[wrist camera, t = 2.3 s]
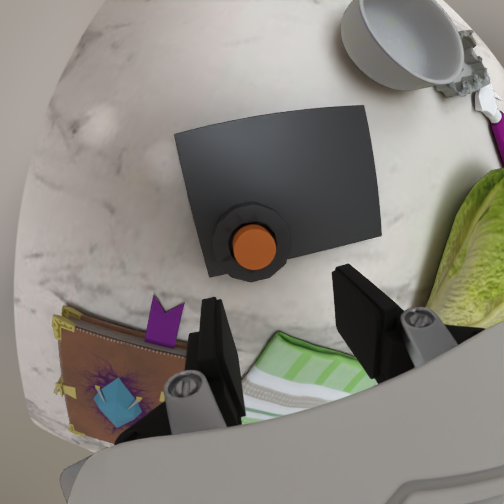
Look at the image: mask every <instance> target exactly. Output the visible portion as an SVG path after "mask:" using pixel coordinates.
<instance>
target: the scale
mask: <svg viewBox="0 0 504 504" xmlns="http://www.w3.org/2000/svg"><path fill="white" fill-rule="evenodd" d="M174 136H175V141H176V146H177V150H178V155H179V159H180V164H181V168H182V173H183V177H184V181H185V185H186V189H187V194H188V198H189V202H190V206H191V210H192V214H193V218H194V222H195V226H196V229H197V233H198V237H199V241H200V245H201V248H202V252H203V256H204V259H205V263H206V267H207V270H208V274H209V277H214V276H219V275H223V274H228V275H229V276H230V277H232V278H236V279H240V280H243V281H247V282H254V281H258V280H263V279H267V278H270V277H271V276H272V275H274V274H275V273H276V272H277V271H278V270H279V269H281V268H282V267H283V266H284V265H285V264H286V261H287V259H291V258H295V257H299V256H303V255H307V254H311V253H315V252H319V251H323V250H328V249H332V248H336V247H340V246H344V245H348V244H352V243H356V242H359V241H363V240H367V239H371V238H375V237H379V236H382V232H381V217H380V206H379V196H378V186H377V178H376V170H375V163H374V157H373V150H372V144H371V138H370V133H369V127H368V122H367V117H366V113H365V108H364V105H357V106H338V107H325V108H314V109H304V110H295V111H287V112H280V113H273V114H266V115H260V116H254V117H248V118H243V119H238V120H232V121H227V122H223V123H218V124H213V125H209V126H205V127H200V128H196V129H192V130H188V131H184V132H181V133H177V134H174ZM250 224H256V225H260V226H262V227H264V228H265V229H266V230H267V231H268V232H269V233H270V235H271V236H272V237H273V239H274V241H275V244H276V254H275V257H274V259H273V260H272V262H271V263H270V264H269V265H267V266H266V267H264V268H262V269H258V270H250V269H246V268H244V267H243V266H241V265H240V264H239V263H238V262H237V260H236V258H235V256H234V251H233V238H234V236H235V234H236V233H237V231H238V230H239V229H241V228H242V227H244V226H246V225H250Z"/></svg>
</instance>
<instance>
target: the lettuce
mask: <svg viewBox="0 0 504 504" xmlns="http://www.w3.org/2000/svg"><path fill="white" fill-rule="evenodd" d="M425 308H429V309H431V310H433V311H434V312H435V313H436V314H437V315H438V316H439V318H440V319H441V321H442V322H443V323H444V324H447V325H457V326H468V327H480V328H485V329H487V328H489V327H491V326H493V325H495V324H497V323H499V322H502V321H504V168H500V169H496V170H491V171H490V172H489V173H488V174H487V175H485V176H484V177H483V178H482V179H481V180H479V181H478V182H477V183H476V184H475V185H474V186H473V187H472V189H471V191H470V192H469V194H468V195H467V197H466V198H465V200H464V202H463V203H462V205H461V207H460V209H459V211H458V212H457V214H456V217H455V220H454V223H453V226H452V229H451V232H450V235H449V238H448V240H447V243H446V247H445V250H444V253H443V256H442V259H441V262H440V265H439V269H438V272H437V276H436V279H435V283H434V286H433V289H432V292H431V295H430V297H429V300H428V303H427V305H426V307H425Z"/></svg>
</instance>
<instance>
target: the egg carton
mask: <svg viewBox="0 0 504 504" xmlns="http://www.w3.org/2000/svg"><path fill="white" fill-rule="evenodd" d="M458 33H459V36H460V38H461V41H462V45H463V49H464V65H463V69H462V71H461V73H460V75H459V76H458V78H457V79H456V80H454V81H453V82H451V83H449V84H445V85H435V87H436V89H437V91H441V92H442V93H443V94H444V95H445V97H452V96H457V95H460V96H462V97H463V96H466V95H467V94H470V93H472V92H475V91H477V90H479V89H481V88H483V87H485V86H487V85H489V84H490V77H489V76H488V74H487V68H485V67H484V66H483V64H482V58H481V57H480V56H476V54H475V52H474V50H473V48H474V47H475V46H476V42H475V40H474V38H473V37H472V33H473V31H472V30H466V31H459V32H458Z"/></svg>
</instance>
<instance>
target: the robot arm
mask: <svg viewBox="0 0 504 504" xmlns="http://www.w3.org/2000/svg"><path fill="white" fill-rule="evenodd" d="M332 281H333V292H334V305H335V319H336V327H337V330H338V332H339V333H340V335H341V336H342V338H343V339H344V341H345V342H346V344H347V345H348V347H349V348H350V349H351V351H352V352H353V354H354V355H355V357H356V358H357V360H358V361H359V363H360V364H361V366H362V367H363V369H364V370H365V372H366V373H367V375H368V376H369V378H370V379H375V380H376V382H377V383H378V384H377V385H375V386H373V387H370V388H368V389H365V390H362V391H360V392H357V393H354V394H352V395H349V396H346V397H343V398H340V399H337V400H334V401H331V402H328V403H325V404H322V405H319V406H316V407H312V408H309V409H305V410H302V411H298V412H295V413H291V414H287V415H283V416H279V417H275V418H271V419H267V420H262V421H258V422H253V423H248V424H243V425H242V420H241V417H244V416H246V411H245V404H244V397H243V389H242V382H241V375H240V367H239V359H238V354H237V350H236V347H235V343H234V340H233V337H232V333H231V330H230V327H229V323H228V320H227V317H226V313H225V310H224V306H223V303H222V300H221V299H219V300H217V299H216V297H212V298H207V299H203V300H202V306H201V317H200V330H199V332H194V333H190V334H189V337H188V345H187V353H186V361H185V370H184V371H181V372H179V373H177V374H175V375H173V376H172V377H170V378H169V379H168V380H167V382H166V383H165V385H164V397H165V401H164V402H162V403H161V404H160V405H158V406H157V407H156V408H154V409H153V410H152V411H151V412H149V413H148V414H147V415H145V416H144V417H143V418H141V419H140V420H139V421H137V422H136V423H134V424H133V425H132V426H130V427H129V428H128V429H126V430H125V431H123V432H122V433H121V434H120V435H119V436H118V437H117V439H116V441H115V444H114V446H111V447H106V448H104V449H102V450H100V451H98V452H97V453H95V454H93V455H91V456H89V457H87V458H85V459H83V460H81V461H79V462H77V463H75V464H73V465H70V466H68V467H67V468H65V469H64V471H63V472H62V473H61V475H60V485H61V488H62V491H63V494H64V497H65V499H66V502H67V504H504V321H502V322H499V323H497V324H495V325H493V326H491V327H489V328H487V329H485V328H480V327H468V326H457V325H447V324H444V323H443V322H442V321H441V319H440V318H439V316H438V315H437V314H436V313H435V312H434V311H433V310H431V309H429V308H425V307H413V308H410V309H407V310H406V311H404V310H402V309H401V308H400V307H399V306H398V305H397V304H396V303H395V302H394V301H393V300H391V299H390V298H389V297H388V296H387V295H386V294H385V293H383V292H382V291H381V290H380V289H379V288H377V287H376V286H375V285H374V284H373V283H372V282H370V281H369V280H368V279H367V278H366V277H364V276H363V275H362V274H361V273H360V272H358V271H357V270H356V269H355V268H353V267H352V266H351V265H350V264H345V265H342V266H338V267H336V268H335V271H333V272H332Z"/></svg>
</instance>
